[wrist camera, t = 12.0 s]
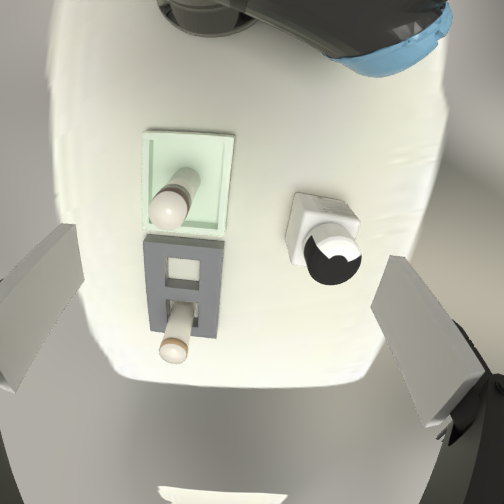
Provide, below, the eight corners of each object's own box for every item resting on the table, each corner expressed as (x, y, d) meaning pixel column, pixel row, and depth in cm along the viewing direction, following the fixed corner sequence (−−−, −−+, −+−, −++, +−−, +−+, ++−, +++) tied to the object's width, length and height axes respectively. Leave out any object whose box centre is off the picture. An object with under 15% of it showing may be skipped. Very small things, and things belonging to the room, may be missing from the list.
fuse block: (147, 234, 46) (142, 241, 44) (224, 241, 47) (223, 249, 45) (153, 321, 55) (150, 330, 52) (217, 329, 56) (216, 338, 53)
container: (331, 246, 48) (356, 295, 36) (284, 239, 47) (296, 289, 36) (345, 200, 44) (377, 240, 33) (295, 191, 43) (312, 229, 32)
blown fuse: (172, 165, 41) (147, 192, 30) (202, 167, 41) (186, 195, 30) (171, 194, 43) (147, 229, 32) (200, 196, 43) (185, 233, 32)
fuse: (172, 293, 52) (157, 343, 41) (196, 296, 52) (186, 347, 41) (173, 312, 54) (159, 362, 43) (196, 315, 54) (187, 365, 43)
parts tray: (148, 130, 38) (142, 132, 36) (234, 135, 39) (234, 137, 37) (147, 222, 45) (142, 229, 43) (225, 229, 46) (224, 236, 44)
